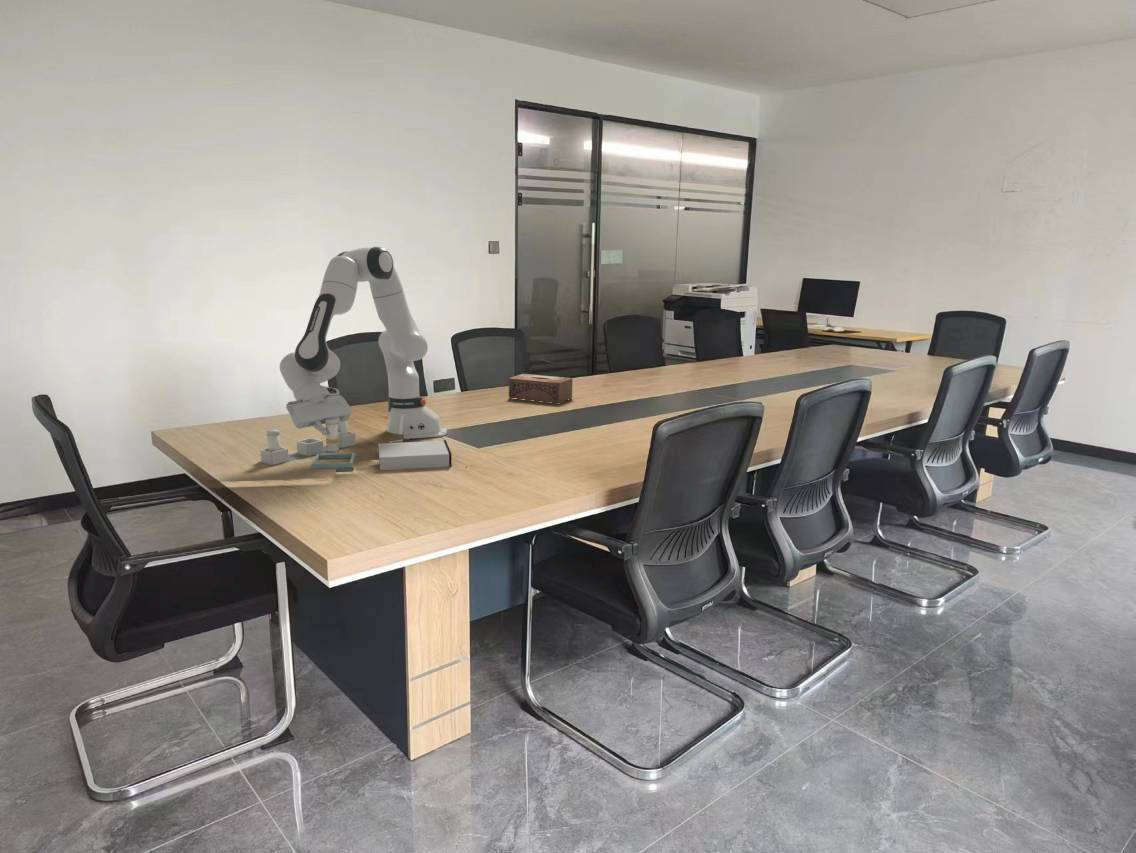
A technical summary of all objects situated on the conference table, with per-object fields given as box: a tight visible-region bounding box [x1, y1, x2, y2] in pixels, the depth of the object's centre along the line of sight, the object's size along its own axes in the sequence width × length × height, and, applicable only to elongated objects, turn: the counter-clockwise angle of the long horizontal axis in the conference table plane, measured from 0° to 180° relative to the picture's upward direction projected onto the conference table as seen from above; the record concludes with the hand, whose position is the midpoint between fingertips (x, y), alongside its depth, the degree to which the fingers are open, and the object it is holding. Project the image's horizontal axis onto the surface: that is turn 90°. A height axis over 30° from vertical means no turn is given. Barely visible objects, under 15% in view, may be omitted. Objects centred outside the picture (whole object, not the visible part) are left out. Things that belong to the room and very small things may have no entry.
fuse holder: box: [257, 430, 359, 467], centre depth 258 cm, size 7×35×6 cm, turn 145°
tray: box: [311, 452, 356, 473], centre depth 247 cm, size 12×12×3 cm
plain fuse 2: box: [338, 418, 349, 436], centre depth 268 cm, size 4×4×10 cm
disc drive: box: [378, 439, 453, 471], centre depth 256 cm, size 18×22×5 cm
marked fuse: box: [324, 418, 340, 453], centre depth 245 cm, size 4×4×10 cm
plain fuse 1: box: [266, 428, 281, 452], centre depth 246 cm, size 4×4×10 cm
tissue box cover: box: [508, 373, 573, 404], centre depth 361 cm, size 26×14×10 cm, turn 66°
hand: (333, 432), depth 245 cm, fingers closed on marked fuse, 4 cm apart
